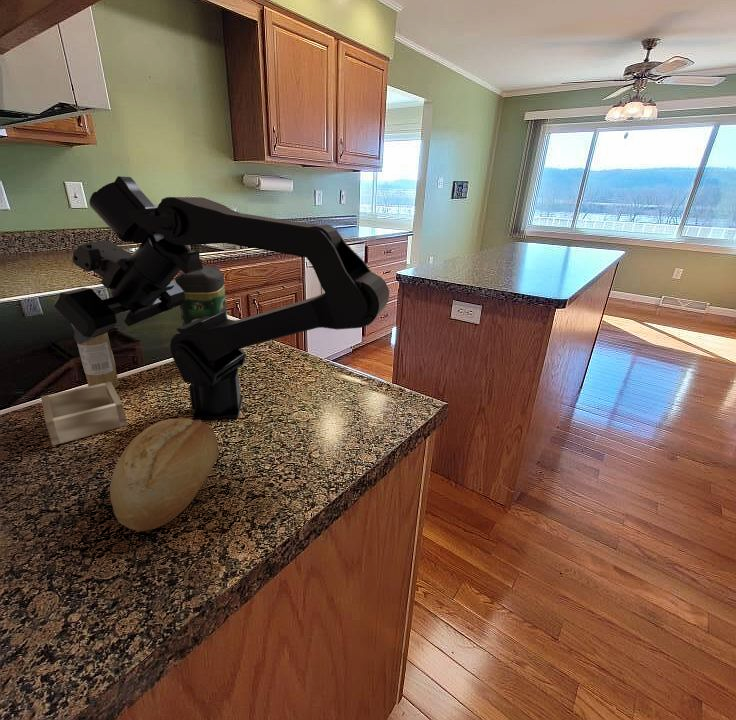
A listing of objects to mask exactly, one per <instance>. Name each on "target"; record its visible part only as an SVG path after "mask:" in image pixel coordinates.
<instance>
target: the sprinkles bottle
mask: <svg viewBox="0 0 736 720" xmlns="http://www.w3.org/2000/svg"><path fill="white" fill-rule="evenodd" d="M70 324H71V323H70ZM71 326H72V328H73V329H74V326H73V325H72V324H71ZM76 344H77V348H78V352H79V357H80V361H81V364H82V367H83V371H84V373H85V378H86V382H87V387H88V386H93V385H97V384H102V383H107V382H111V383H112V385H113V387H114V389H115V390H116V388H118V387H119V386H120V384H121V383H120V381H119V379H118V374H117V369H116V363H115V362H116V361H115V358H114V354H113V350H112V347H111V343H110V337H109V335H108V333H106V334H103V335H101V336H99V337H96V338H94V339H92V340H90V341H87V342H85V343H83V344H78V343H77V342H76Z"/></svg>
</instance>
